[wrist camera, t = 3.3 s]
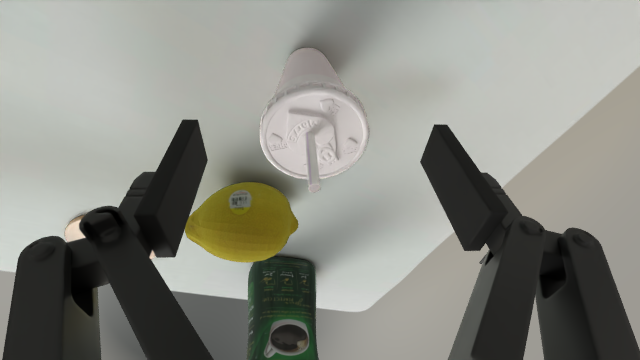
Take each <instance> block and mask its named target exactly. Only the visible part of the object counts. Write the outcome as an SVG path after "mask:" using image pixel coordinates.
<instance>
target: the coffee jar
mask: <svg viewBox="0 0 640 360" xmlns="http://www.w3.org/2000/svg"><path fill="white" fill-rule="evenodd" d="M248 314H249V315H248V317H249V318H248V319H249V321H248V322H249V323H248V324H249V325H248V348H247V360H319V359H318V353H317V344H316V270H315V267H314V265H313V264H312V263H310V262H308V261H306V260H301V259H295V258H285V257H270V258H268V259H266V260H262V261H256V262H255V263H254V264H253V265H252V267H251V269H250V272H249V278H248Z"/></svg>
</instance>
